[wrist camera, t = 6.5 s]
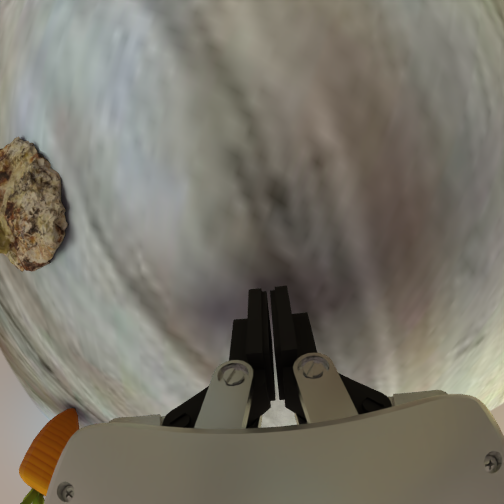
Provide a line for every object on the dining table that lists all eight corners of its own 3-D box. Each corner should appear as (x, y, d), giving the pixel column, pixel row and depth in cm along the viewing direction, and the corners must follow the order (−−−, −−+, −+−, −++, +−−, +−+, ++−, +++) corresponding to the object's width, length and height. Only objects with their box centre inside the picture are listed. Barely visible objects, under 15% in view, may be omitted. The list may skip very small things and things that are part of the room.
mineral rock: (49, 125, 8) (34, 307, 9) (97, 143, 12) (81, 284, 14) (-43, 141, 8) (-51, 262, 9) (-3, 148, 12) (-13, 252, 13)
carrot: (55, 387, 19) (1, 502, 5) (98, 413, 20) (55, 535, 6) (54, 403, 21) (10, 503, 7) (91, 426, 22) (55, 531, 8)
